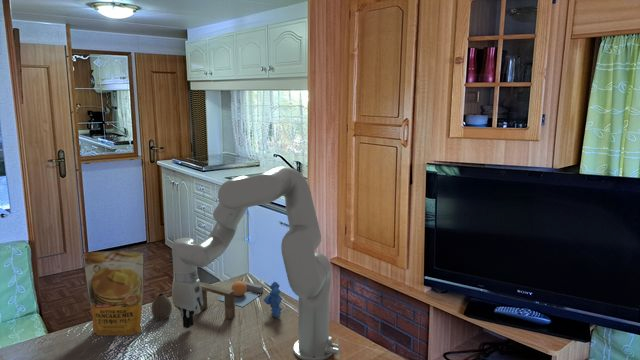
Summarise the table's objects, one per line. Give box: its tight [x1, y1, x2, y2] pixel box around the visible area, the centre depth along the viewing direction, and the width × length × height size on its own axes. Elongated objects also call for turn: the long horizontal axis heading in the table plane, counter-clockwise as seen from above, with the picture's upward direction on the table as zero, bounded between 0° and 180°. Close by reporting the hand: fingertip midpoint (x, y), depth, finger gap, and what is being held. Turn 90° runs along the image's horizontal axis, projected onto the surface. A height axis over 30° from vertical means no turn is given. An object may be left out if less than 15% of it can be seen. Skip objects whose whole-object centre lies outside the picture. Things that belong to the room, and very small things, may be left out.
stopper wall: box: [242, 280, 264, 294], centre depth 184 cm, size 10×2×2 cm, turn 62°
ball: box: [230, 280, 248, 297], centre depth 179 cm, size 6×6×6 cm
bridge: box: [200, 281, 236, 320], centre depth 165 cm, size 3×15×10 cm, turn 62°
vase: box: [150, 292, 173, 321], centre depth 162 cm, size 7×7×9 cm
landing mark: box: [217, 293, 261, 308], centre depth 178 cm, size 12×12×1 cm
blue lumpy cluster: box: [263, 281, 283, 318], centre depth 164 cm, size 12×7×12 cm, turn 12°
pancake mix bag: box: [81, 250, 146, 337], centre depth 150 cm, size 7×19×28 cm, turn 92°
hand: (188, 326), depth 154 cm, fingers closed
